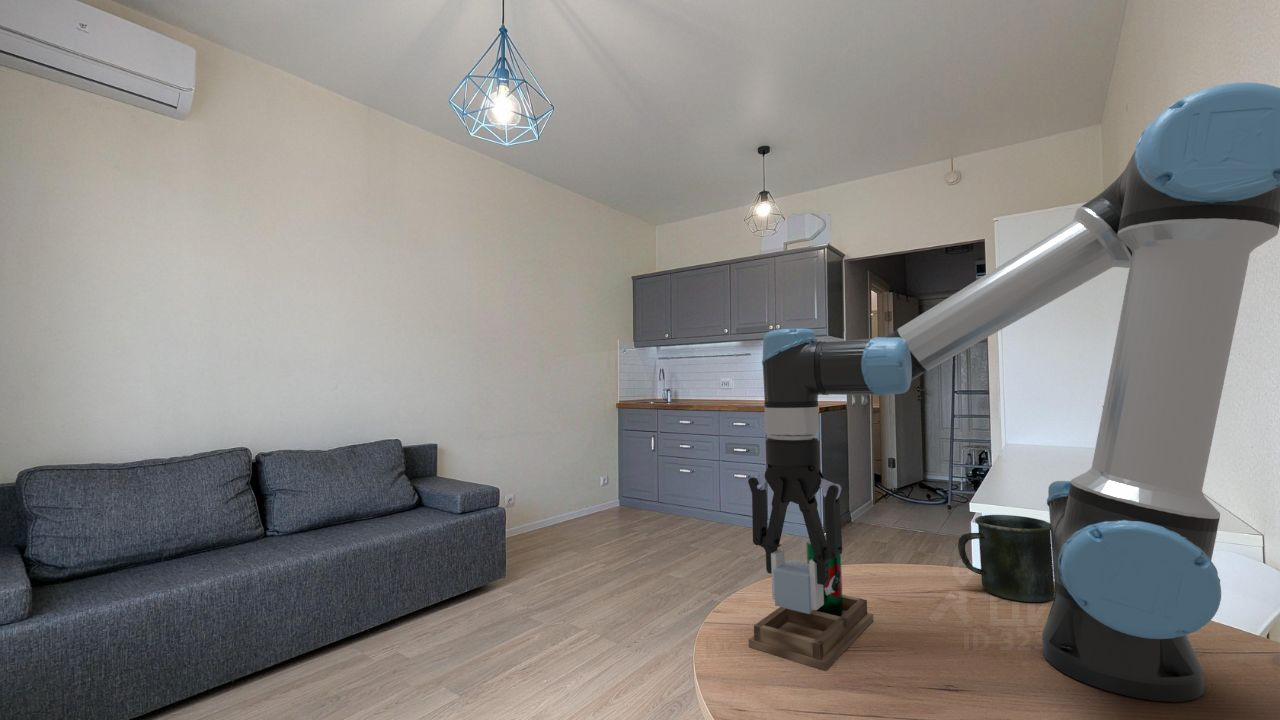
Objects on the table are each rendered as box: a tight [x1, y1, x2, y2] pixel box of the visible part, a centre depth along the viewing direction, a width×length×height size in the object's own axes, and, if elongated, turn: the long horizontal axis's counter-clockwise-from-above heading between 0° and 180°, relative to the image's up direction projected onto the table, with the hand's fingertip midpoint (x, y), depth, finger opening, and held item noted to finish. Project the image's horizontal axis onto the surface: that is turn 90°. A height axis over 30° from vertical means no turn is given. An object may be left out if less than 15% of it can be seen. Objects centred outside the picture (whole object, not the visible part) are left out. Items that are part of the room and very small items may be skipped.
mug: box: [957, 514, 1055, 603], centre depth 94 cm, size 11×15×12 cm
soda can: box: [805, 532, 843, 616], centre depth 84 cm, size 5×5×12 cm
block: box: [774, 559, 813, 614], centre depth 78 cm, size 5×5×5 cm
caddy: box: [748, 594, 874, 672], centre depth 81 cm, size 11×19×3 cm, turn 140°
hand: (797, 601), depth 77 cm, fingers closed on block, 5 cm apart
